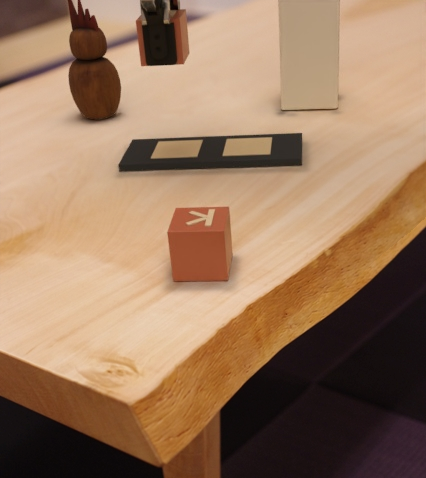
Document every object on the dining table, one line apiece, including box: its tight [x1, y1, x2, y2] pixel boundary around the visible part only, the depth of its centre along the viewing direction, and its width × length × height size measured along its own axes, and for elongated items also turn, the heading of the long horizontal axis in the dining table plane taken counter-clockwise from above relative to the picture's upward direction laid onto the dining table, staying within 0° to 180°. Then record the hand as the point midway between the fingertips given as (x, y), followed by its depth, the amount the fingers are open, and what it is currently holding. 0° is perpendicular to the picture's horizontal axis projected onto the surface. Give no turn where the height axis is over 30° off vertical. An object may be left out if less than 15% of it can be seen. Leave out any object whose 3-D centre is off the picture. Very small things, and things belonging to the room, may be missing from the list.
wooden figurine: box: [67, 0, 122, 120], centre depth 95 cm, size 7×6×15 cm
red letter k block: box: [166, 206, 233, 282], centre depth 61 cm, size 4×4×5 cm
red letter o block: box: [135, 8, 190, 67], centre depth 77 cm, size 4×4×5 cm
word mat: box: [118, 132, 303, 172], centre depth 84 cm, size 20×8×1 cm, turn 84°
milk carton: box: [277, 0, 341, 111], centre depth 92 cm, size 7×7×19 cm
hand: (165, 56), depth 78 cm, fingers closed on red letter o block, 4 cm apart
